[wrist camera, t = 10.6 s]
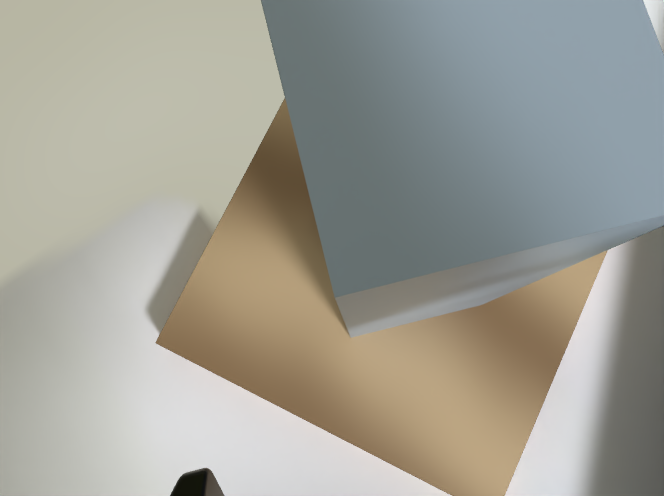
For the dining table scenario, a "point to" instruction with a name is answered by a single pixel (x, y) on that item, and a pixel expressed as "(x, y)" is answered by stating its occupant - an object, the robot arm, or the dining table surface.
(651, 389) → the dining table surface
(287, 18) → the plug
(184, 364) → the dining table surface
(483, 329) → the cork mat
